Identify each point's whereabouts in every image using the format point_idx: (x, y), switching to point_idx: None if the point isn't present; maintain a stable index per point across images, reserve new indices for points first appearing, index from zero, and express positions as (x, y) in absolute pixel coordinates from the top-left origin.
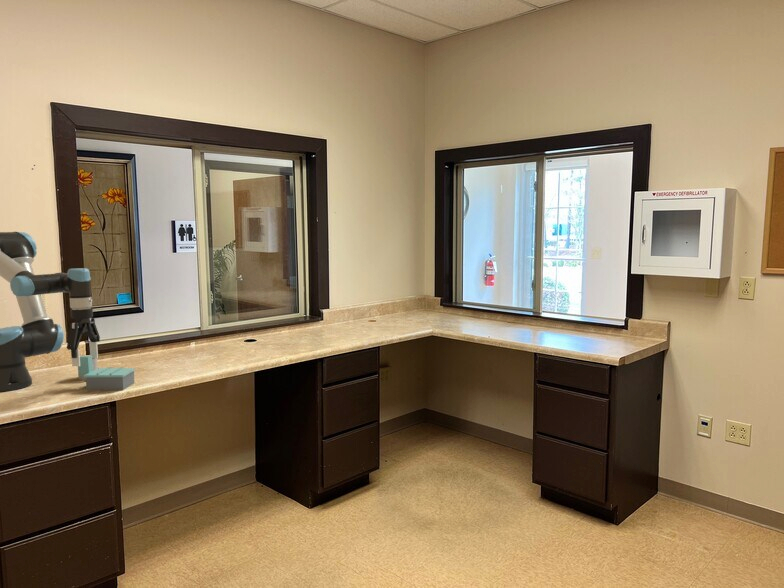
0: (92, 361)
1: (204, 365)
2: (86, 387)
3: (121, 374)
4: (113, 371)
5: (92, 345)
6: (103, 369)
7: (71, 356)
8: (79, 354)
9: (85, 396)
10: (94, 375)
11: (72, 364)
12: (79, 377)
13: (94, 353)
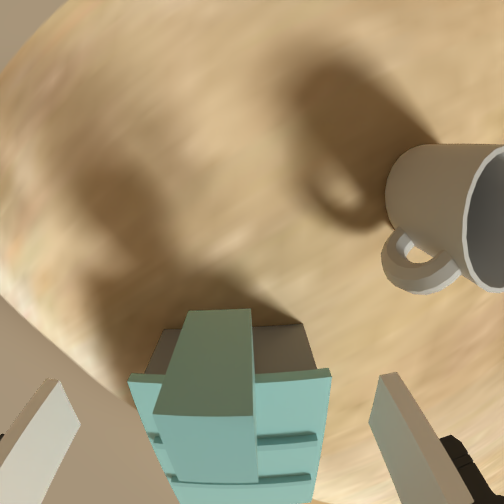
0: (470, 279)
1: (478, 462)
2: (158, 343)
3: (189, 500)
4: (210, 485)
5: (423, 499)
6: (292, 420)
7: (5, 435)
8: (45, 492)
9: (108, 351)
10: (145, 429)
11: (40, 390)
12: (402, 163)
13: (386, 441)
